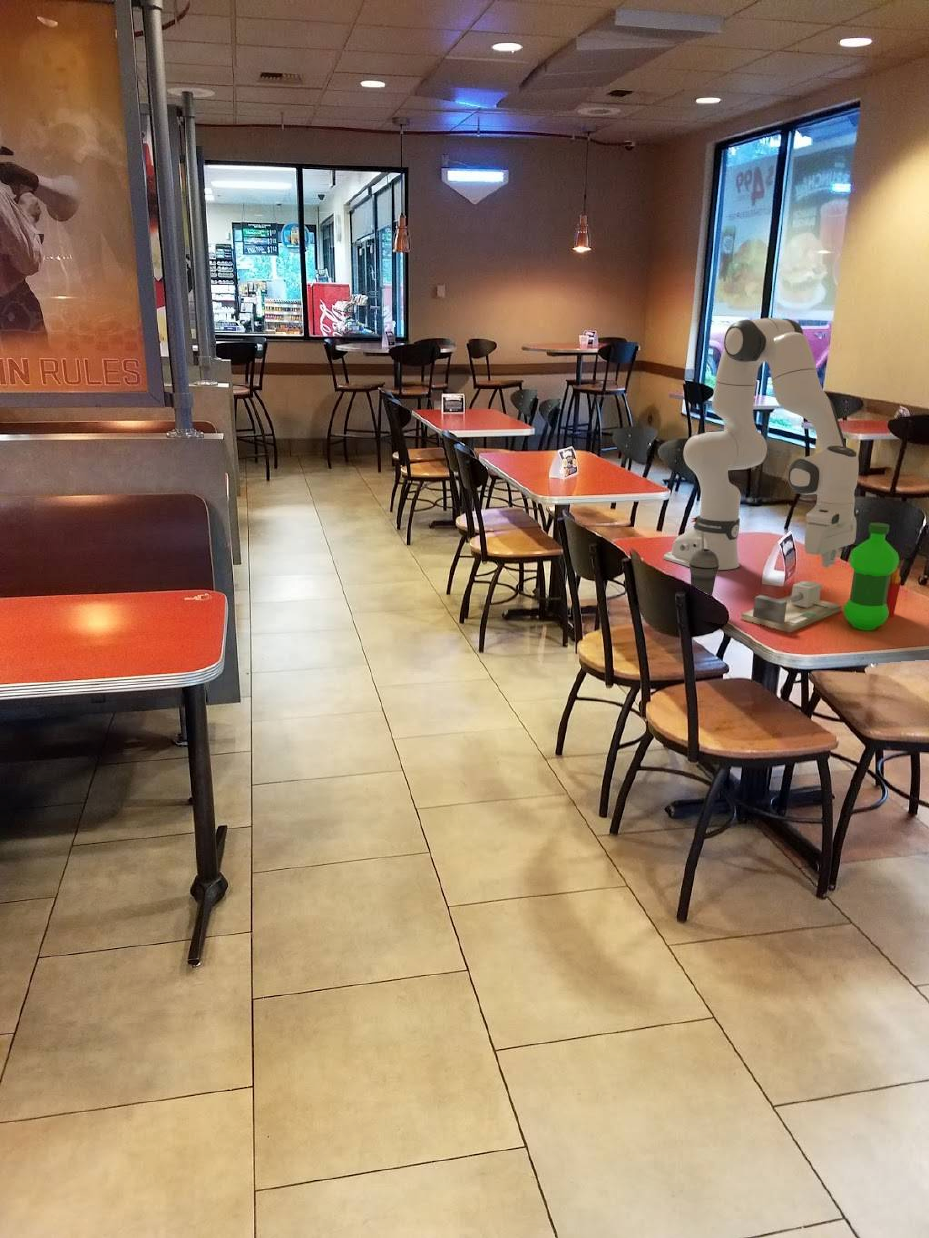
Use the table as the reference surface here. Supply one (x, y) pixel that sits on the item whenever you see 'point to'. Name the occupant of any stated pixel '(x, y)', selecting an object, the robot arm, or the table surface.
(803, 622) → the frame
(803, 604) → the block
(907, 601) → the table surface
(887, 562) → the plastic bottle
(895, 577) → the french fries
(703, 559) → the beverage cup
